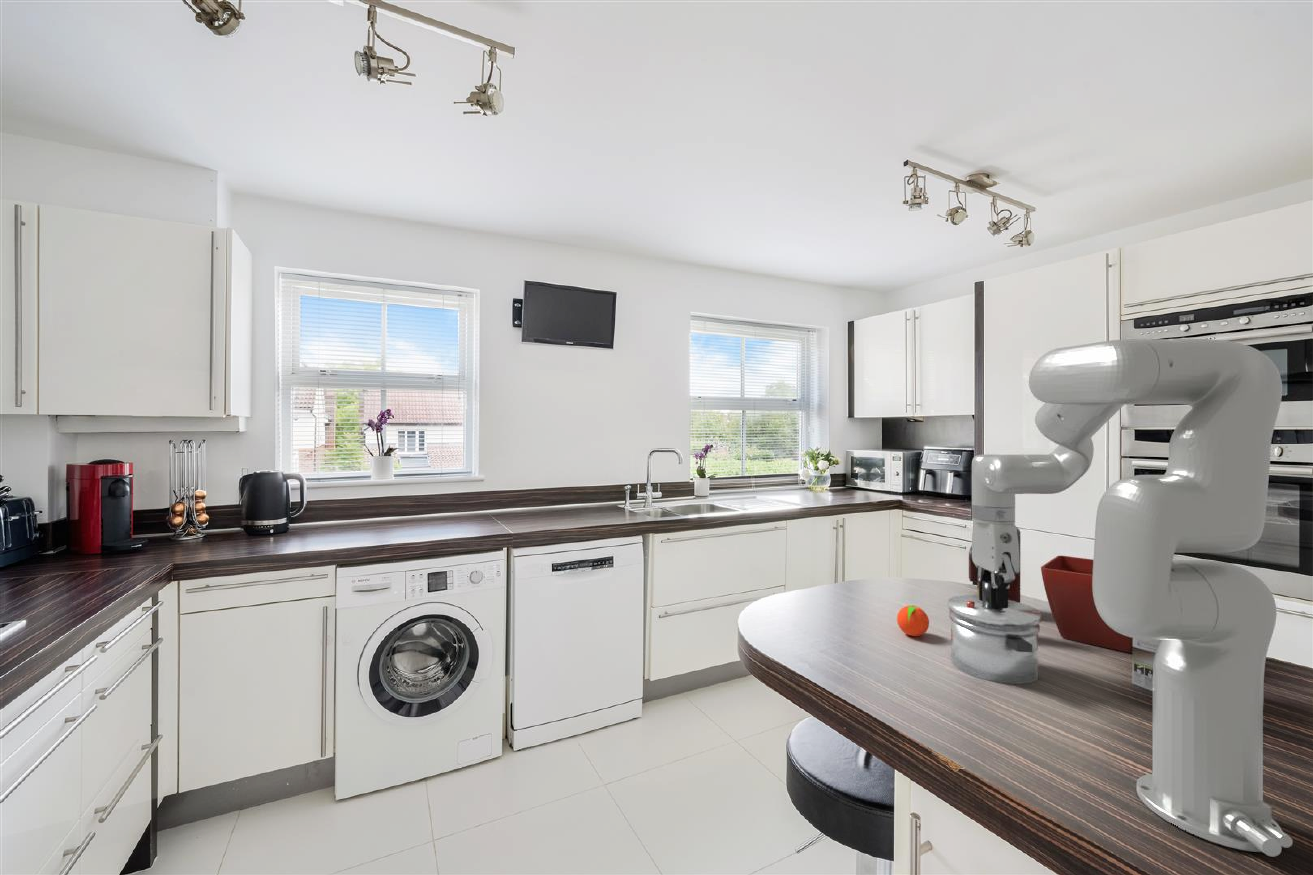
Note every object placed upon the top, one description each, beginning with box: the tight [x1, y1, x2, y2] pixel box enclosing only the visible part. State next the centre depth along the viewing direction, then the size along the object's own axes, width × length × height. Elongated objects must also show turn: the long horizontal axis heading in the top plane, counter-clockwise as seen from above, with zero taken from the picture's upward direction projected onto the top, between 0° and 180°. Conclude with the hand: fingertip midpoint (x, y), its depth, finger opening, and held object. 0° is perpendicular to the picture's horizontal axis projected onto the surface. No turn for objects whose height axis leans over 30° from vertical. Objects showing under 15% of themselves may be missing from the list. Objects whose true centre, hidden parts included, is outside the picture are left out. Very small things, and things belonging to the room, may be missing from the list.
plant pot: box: [1040, 555, 1133, 654], centre depth 123 cm, size 19×19×17 cm
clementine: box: [896, 605, 930, 637], centre depth 125 cm, size 8×7×7 cm
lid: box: [947, 580, 1042, 627], centre depth 108 cm, size 16×16×6 cm
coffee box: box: [1131, 638, 1161, 693], centre depth 99 cm, size 9×6×16 cm
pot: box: [948, 609, 1041, 685], centre depth 108 cm, size 22×16×10 cm
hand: (993, 603), depth 108 cm, fingers closed on lid, 3 cm apart
